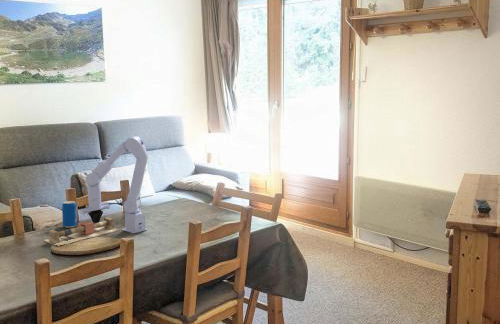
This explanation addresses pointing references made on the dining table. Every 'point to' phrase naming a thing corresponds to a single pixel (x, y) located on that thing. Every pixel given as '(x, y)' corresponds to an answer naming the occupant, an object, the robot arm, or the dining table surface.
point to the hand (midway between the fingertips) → (96, 226)
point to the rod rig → (75, 233)
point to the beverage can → (69, 214)
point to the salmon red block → (87, 227)
